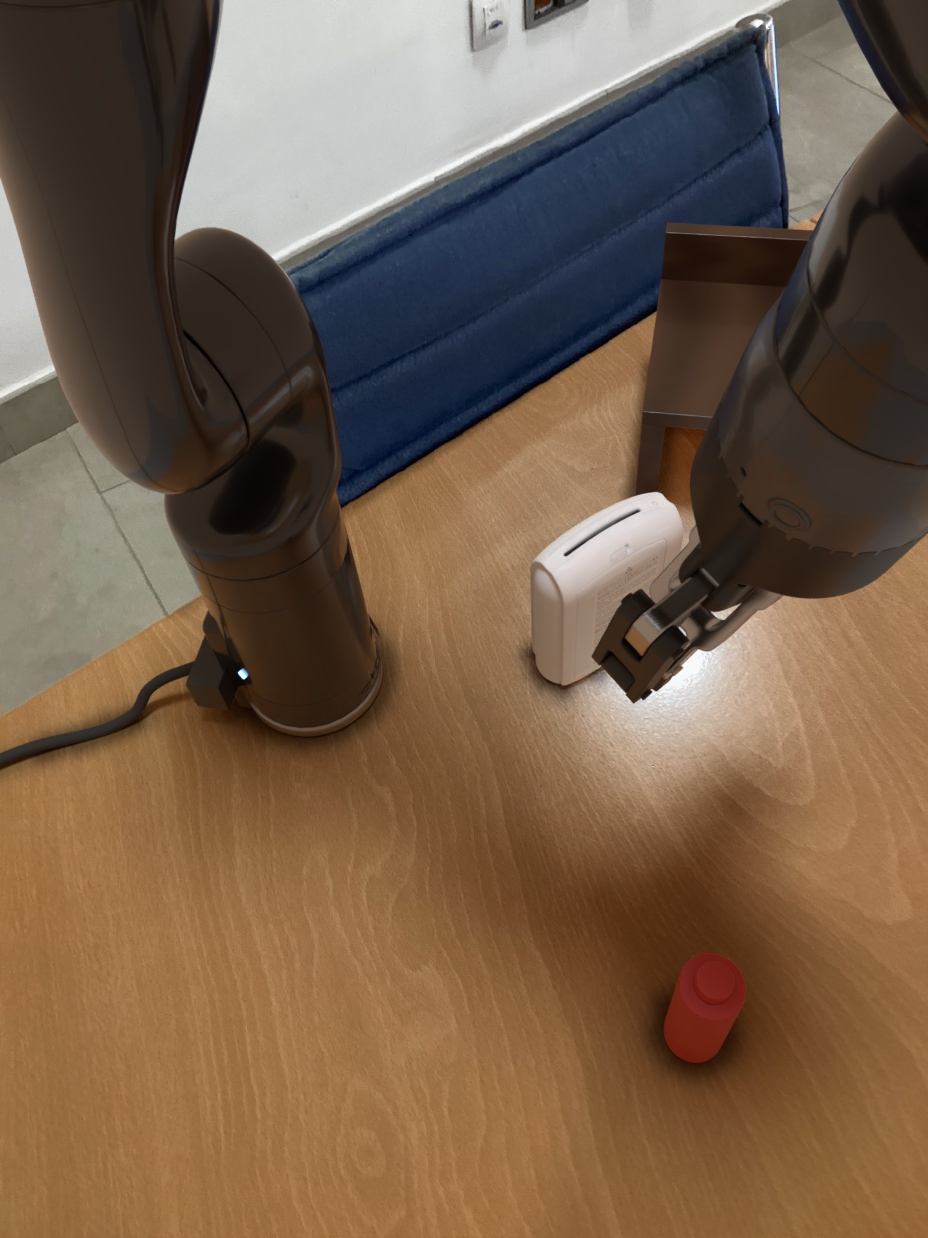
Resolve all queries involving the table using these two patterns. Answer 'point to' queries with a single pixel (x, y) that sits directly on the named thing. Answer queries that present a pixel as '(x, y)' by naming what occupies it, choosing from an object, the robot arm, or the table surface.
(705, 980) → the battery
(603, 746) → the table surface
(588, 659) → the photo printer
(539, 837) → the table surface
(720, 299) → the shelf
